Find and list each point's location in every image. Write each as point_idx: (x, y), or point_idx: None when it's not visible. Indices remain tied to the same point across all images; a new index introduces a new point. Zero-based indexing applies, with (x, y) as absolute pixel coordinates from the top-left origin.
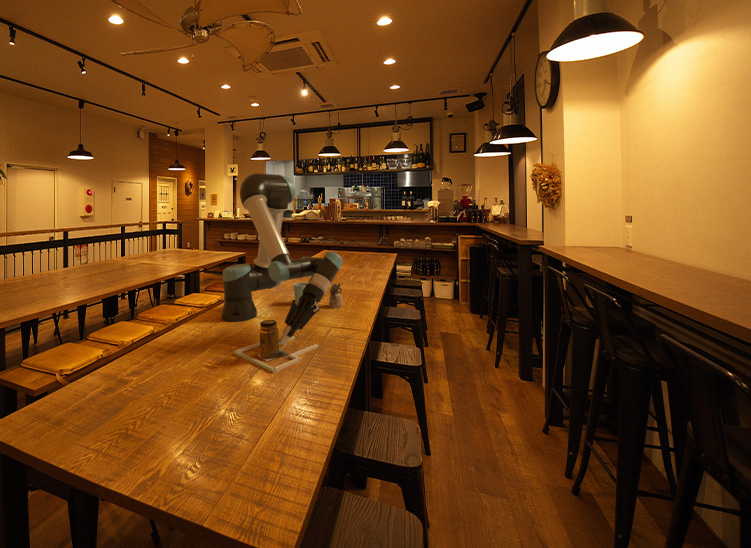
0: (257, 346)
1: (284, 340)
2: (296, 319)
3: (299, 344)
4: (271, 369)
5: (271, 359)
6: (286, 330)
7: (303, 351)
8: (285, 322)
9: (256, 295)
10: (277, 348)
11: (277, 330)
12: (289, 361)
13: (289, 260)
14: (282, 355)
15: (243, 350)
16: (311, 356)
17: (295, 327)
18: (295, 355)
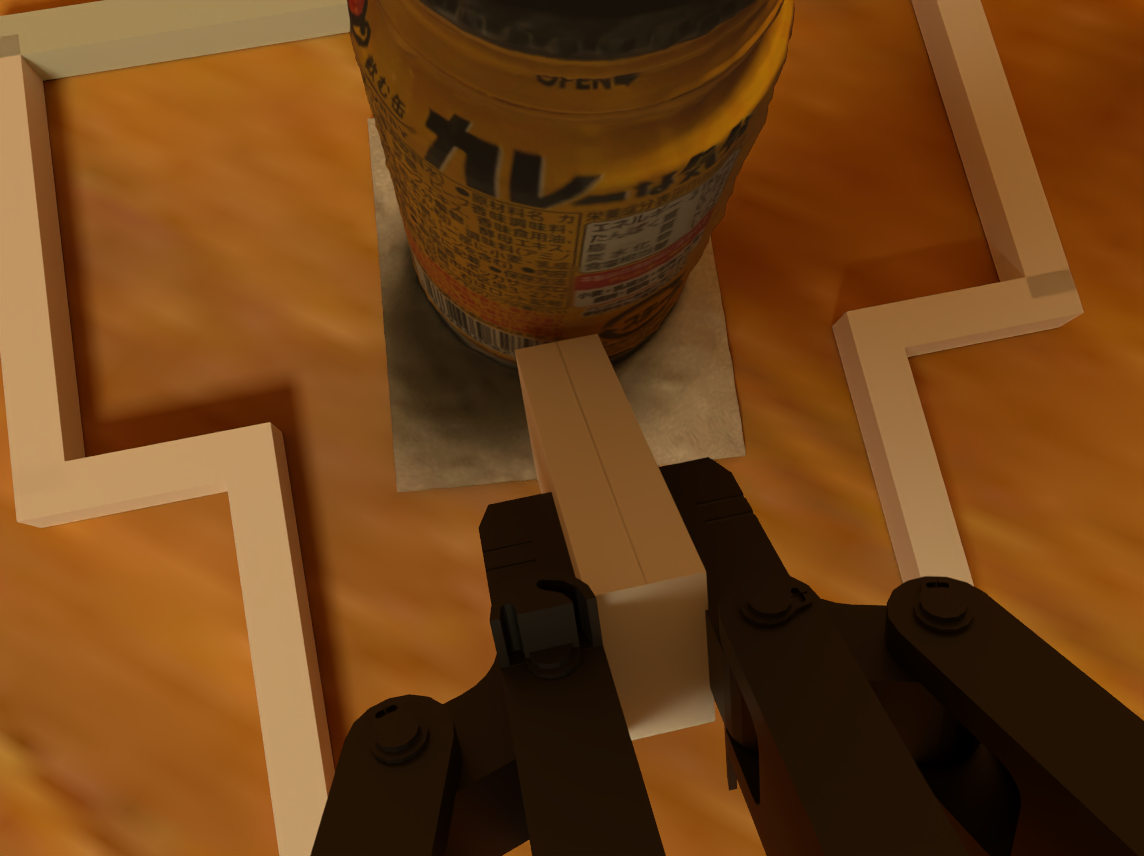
0: (989, 232)
1: (533, 439)
2: (598, 834)
3: (679, 844)
4: (16, 21)
5: (386, 192)
6: (611, 495)
7: (264, 703)
8: (909, 586)
9: None
10: (417, 261)
11: (400, 115)
12: (35, 307)
13: None
14: (403, 373)
15: (924, 7)
16: (65, 746)
17: (472, 694)
18: (172, 489)
